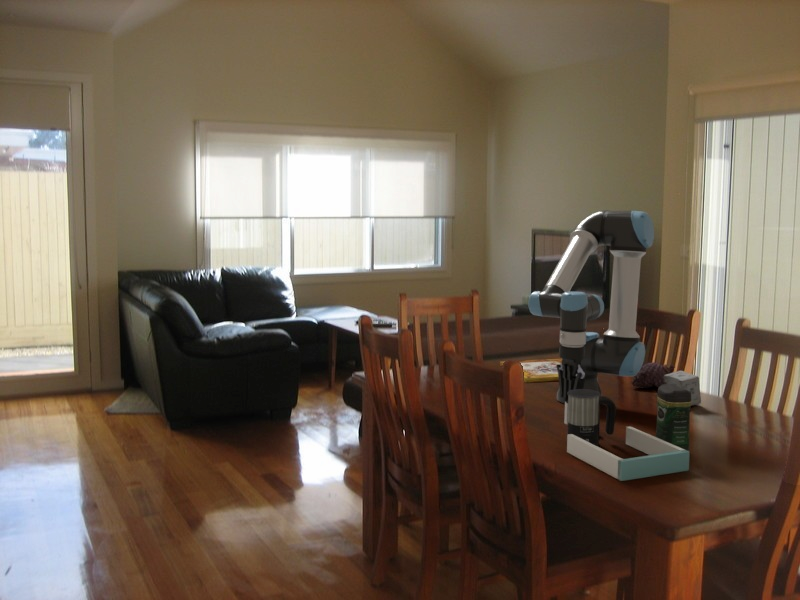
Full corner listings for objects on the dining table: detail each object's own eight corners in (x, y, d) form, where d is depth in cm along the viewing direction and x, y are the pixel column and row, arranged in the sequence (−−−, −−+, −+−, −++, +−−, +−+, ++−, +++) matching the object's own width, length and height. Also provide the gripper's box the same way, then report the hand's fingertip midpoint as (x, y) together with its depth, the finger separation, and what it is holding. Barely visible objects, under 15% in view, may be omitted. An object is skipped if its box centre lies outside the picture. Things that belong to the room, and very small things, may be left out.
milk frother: (577, 449, 235) (579, 398, 233) (546, 433, 250) (548, 384, 248) (619, 444, 241) (622, 393, 238) (587, 428, 255) (589, 380, 253)
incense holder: (662, 401, 287) (663, 371, 285) (682, 399, 289) (684, 369, 288) (680, 409, 278) (681, 378, 276) (701, 406, 280) (702, 376, 279)
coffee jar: (693, 455, 230) (696, 389, 228) (665, 457, 229) (668, 390, 227) (677, 445, 240) (680, 381, 237) (650, 446, 239) (653, 382, 236)
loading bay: (566, 452, 234) (567, 434, 233) (630, 443, 241) (630, 426, 241) (621, 481, 211) (621, 461, 210) (688, 470, 219) (689, 451, 218)
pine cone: (642, 393, 298) (629, 367, 301) (632, 400, 308) (620, 375, 311) (685, 377, 302) (672, 351, 305) (674, 384, 311) (662, 359, 314)
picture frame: (562, 358, 349) (593, 374, 319) (562, 363, 349) (592, 380, 320) (499, 361, 343) (525, 378, 314) (499, 366, 344) (525, 383, 314)
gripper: (549, 341, 251) (546, 418, 255) (573, 349, 239) (570, 430, 243) (571, 340, 254) (568, 416, 257) (596, 348, 242) (592, 428, 245)
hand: (569, 423), depth 250 cm, fingers closed
